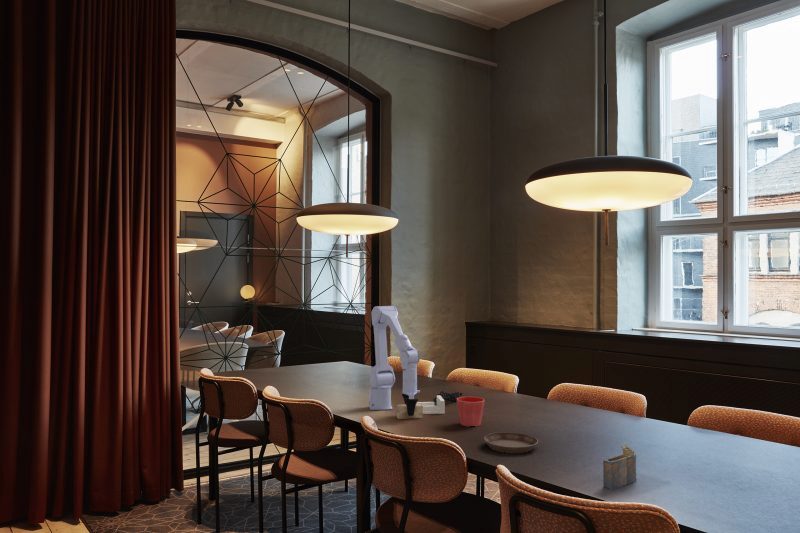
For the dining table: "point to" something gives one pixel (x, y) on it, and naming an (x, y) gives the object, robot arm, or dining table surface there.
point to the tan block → (403, 413)
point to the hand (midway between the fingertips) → (409, 413)
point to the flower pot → (470, 410)
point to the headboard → (434, 406)
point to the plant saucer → (510, 442)
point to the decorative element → (448, 396)
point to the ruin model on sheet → (619, 469)
